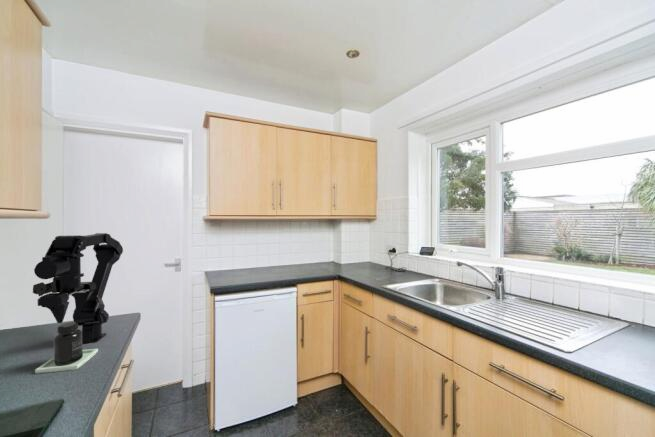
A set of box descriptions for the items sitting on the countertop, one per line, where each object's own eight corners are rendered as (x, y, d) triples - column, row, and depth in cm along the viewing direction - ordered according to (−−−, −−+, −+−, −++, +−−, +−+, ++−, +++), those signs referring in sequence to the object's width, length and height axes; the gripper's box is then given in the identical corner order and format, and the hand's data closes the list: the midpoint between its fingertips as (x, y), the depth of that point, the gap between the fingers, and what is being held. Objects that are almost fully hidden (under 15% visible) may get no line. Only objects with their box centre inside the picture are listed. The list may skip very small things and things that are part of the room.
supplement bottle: (80, 353, 93) (80, 318, 93) (84, 360, 89) (84, 323, 89) (52, 361, 88) (51, 325, 88) (55, 369, 84) (54, 330, 83)
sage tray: (61, 355, 93) (61, 351, 92) (98, 351, 95) (98, 348, 95) (35, 373, 82) (35, 369, 82) (77, 369, 84) (77, 365, 84)
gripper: (61, 267, 99) (61, 309, 100) (15, 280, 81) (16, 331, 82) (96, 266, 102) (97, 307, 102) (59, 278, 84) (60, 328, 84)
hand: (69, 317), depth 92 cm, fingers open, 9 cm apart
